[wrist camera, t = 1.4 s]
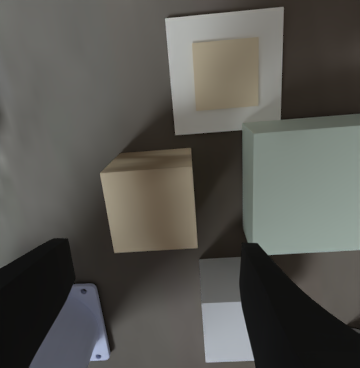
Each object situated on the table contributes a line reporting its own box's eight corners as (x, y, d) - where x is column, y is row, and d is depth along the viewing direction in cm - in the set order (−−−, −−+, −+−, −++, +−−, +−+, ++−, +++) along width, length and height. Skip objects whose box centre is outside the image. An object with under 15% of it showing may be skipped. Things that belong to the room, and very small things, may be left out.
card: (175, 134, 20) (175, 135, 19) (165, 19, 18) (164, 17, 17) (278, 126, 19) (281, 127, 19) (282, 8, 17) (284, 5, 17)
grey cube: (202, 309, 25) (205, 362, 20) (198, 258, 23) (201, 303, 18) (261, 306, 24) (279, 359, 20) (262, 255, 23) (281, 299, 18)
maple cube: (130, 216, 22) (114, 252, 17) (120, 152, 20) (99, 173, 16) (195, 212, 22) (197, 248, 17) (191, 147, 20) (191, 166, 15)
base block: (242, 228, 22) (252, 255, 19) (242, 122, 19) (253, 133, 16) (350, 221, 22) (379, 248, 18) (366, 113, 19) (404, 122, 15)
